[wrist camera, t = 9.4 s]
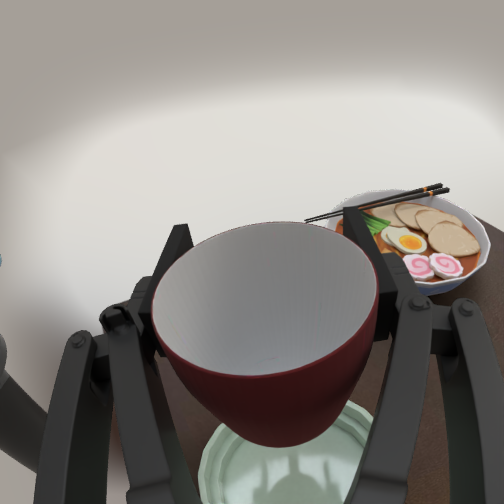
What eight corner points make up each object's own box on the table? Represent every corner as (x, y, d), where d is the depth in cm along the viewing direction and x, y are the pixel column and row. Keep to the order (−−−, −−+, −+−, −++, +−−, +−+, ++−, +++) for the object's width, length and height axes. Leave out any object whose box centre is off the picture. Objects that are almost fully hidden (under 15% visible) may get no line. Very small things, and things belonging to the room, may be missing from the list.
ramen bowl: (361, 362, 32) (370, 308, 27) (296, 249, 51) (292, 201, 46) (509, 293, 34) (527, 244, 29) (423, 217, 53) (428, 175, 48)
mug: (209, 345, 22) (163, 219, 16) (321, 319, 22) (314, 186, 17) (224, 489, 13) (138, 400, 8) (376, 452, 14) (425, 332, 8)
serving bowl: (263, 586, 14) (257, 590, 12) (185, 455, 26) (171, 439, 23) (417, 488, 19) (432, 477, 17) (320, 385, 30) (321, 362, 28)
